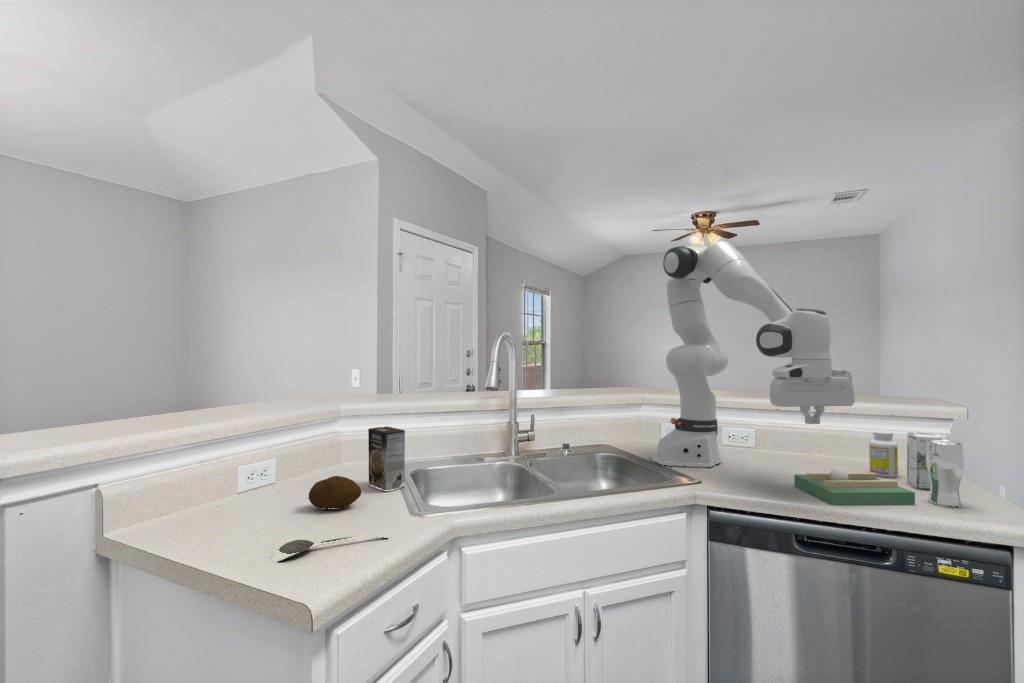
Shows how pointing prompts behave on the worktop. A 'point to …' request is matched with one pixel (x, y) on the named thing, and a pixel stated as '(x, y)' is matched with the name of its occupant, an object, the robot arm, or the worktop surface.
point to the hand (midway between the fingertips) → (812, 423)
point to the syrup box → (918, 459)
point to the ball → (838, 474)
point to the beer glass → (944, 471)
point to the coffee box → (386, 457)
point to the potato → (334, 493)
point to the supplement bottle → (883, 454)
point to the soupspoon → (299, 545)
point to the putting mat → (855, 489)
